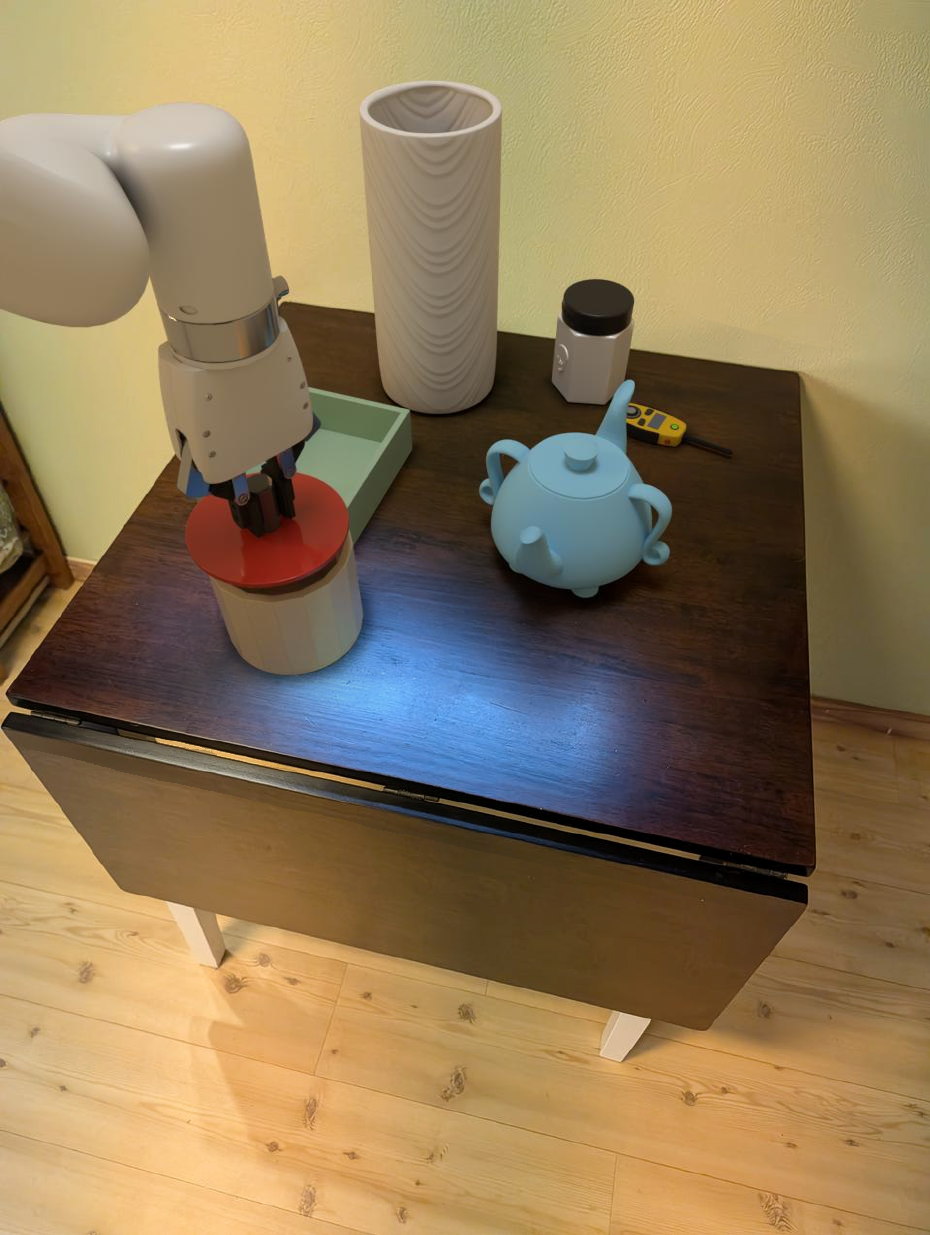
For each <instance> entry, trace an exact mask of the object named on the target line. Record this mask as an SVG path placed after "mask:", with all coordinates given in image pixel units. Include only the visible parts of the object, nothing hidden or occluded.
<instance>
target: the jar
mask: <svg viewBox="0 0 930 1235" xmlns="http://www.w3.org/2000/svg"><path fill="white" fill-rule="evenodd" d="M634 296H635V295H634V294H633V292H632V290H630V289H629V288H628V287H626V286H625V285H623V284H621V283H619V282H616V281H613V280H609V279H603V278H589V279H588V278H587V279H582V280H580V281H576V282H574V283H572V284H571V285H569V286H568V287H567V288H566V289H565V290H564V292H563V299H562V301H561V312H560V313H558V315H557V320H556V328H555V329H556V330H555V341H554V353H553V362H552V371H551V372H552V373H551V383H552V384H553V386H555V388H556V389H557V391H558V392H559V393H560V395H562V397H563V398H564V399H565V401H566V402H568V403H575V404H589V405H601V406H603V405H604V406H605V405H606V404H608V402H609V401H610V400H612V399H613V397H614V395H615V393H616V391H617V389H618V388H619V387H620V386H621V385H622V383H624V382H625V381H626V375H627V374H626V373H627V367H628V362H629V357H630V351H631V345H632V339H633V334H634V328H635V319H634V318H633V313H634V306H635V297H634Z"/></svg>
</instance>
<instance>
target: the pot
mask: <svg viewBox="0 0 930 1235" xmlns="http://www.w3.org/2000/svg"><path fill="white" fill-rule="evenodd" d="M357 568H358V567H357V563H356V555H355V549H354V546H353V542H352V538H351V534H350V530H349V531H348V536H347V538H346V541H345V543H344V545H343V547H342V548H341V550H340V551H339V553H338V554H337V555H336V556H335V557H334V558H333V559H332V560H331V561H330V562H329V563H328V564H327V565H326V566H324V567H323V568H321V569H320V570H319V571H317V572H315V573H313V574H312V575H310V576H308V577H305V578H303V579H301V580H298V581H295V582H292V583H289V584H284V585H280V586H273V587H262V588H252V587H242V586H236V585H232V584H228V583H225V582H222V581H220V580H217V579H215V578H213V577H212V576H210V575H208V574H207V576H208V579H209V582H210V584H211V587H212V589H213V593H214V595H215V598H216V601H217V605H218V607H219V610H220V612H221V615H222V619H223V621H224V624H225V627H226V630H227V634H228V635H229V638H230V641H231V643H232V644H233V646H234V648H235V650H236V651H237V653H238V654H239V655H240V657H241V658H242V659H243V660H244V661H246V662H247V663H248V664H249V665H251V666H253V667H254V668H256V669H258V670H260V671H263V672H266V673H270V674H275V675H281V676H298V675H304V674H305V675H306V674H310V673H313V672H316V671H319V670H322V669H324V668H326V667H329V666H330V665H332V664H334V663H335V662H337V661H338V660H340V659H341V658H342V657H344V655H346V654H347V653H348V651H350V650H351V649H352V647H353V646H354V645H355V643H356V642H357V639H358V638H359V636H360V633H361V630H362V626H363V619H364V610H363V604H362V603H363V602H362V596H361V590H360V584H359V576H358V569H357Z"/></svg>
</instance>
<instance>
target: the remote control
mask: <svg viewBox="0 0 930 1235" xmlns="http://www.w3.org/2000/svg"><path fill="white" fill-rule="evenodd" d="M626 436H628V437H630V438H632V439H634V440H635V439H636V440H637V441H641V442H644V443H647V444H651V445H655V446H656V445H662V446H667V447H677V446H678V445H679V444H681V443H682V442H685V441H687V442H691V443H695V444H697V445H699V446H703V447H705V448H707V449H708V448H709V449H711V450H714V451H717V452H719V453H723V454H725V455H733V454H734V451H733V450H732V449H731V448H728V447H727V448H726V447H724V446H721V445H718V444H715V443H712V442H710V441H706V440H703V439H700V438H698V437H695V436H692V435H689V434H688V432H687V424H686V423H685V422H684V421H682V420H680V419H679V418H677V417H674V416H673V414H671V413H669V412H668V411H664V410H662V409H660V408H658V407H654V406H651V405H647V404H643V403H632V402H630V403H629V406H628V410H627V417H626Z"/></svg>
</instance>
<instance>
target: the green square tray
mask: <svg viewBox="0 0 930 1235" xmlns="http://www.w3.org/2000/svg"><path fill="white" fill-rule="evenodd" d="M308 389H309V394H310V399H311V404H312V411H313V412H314V413H315V414H316V416H317V417H318V418H319V420H320V421H321V427H320V428H319V429H318V430H317V432H316V433H315V434H314V435H313V436H312V437H311V438H310V439H309V440H308V441H307V442H305V446H304V449H303V450H302V452H301V454H300V456H299V458H298V460H297V461H296V463H295V465H296V469H297V471H296V472H298V473H302V474H306V475H309V476H312V477H315V478H317V479H319V480H321V481H323V482H325V483H326V484H328V485H329V486H331V487H332V488H333V489H334V490H335V491H337V493H338V494H339V495H340V496H341V497H342V499H343V501H344V503H345V504H346V507H347V510H348V515H349V530H350V534H351V538H352V542H353V547H355V545H356V543H357V541H358V540H359V538H360V536H361V534H362V533H363V532H364V530H365V528H366V526H367V525H368V523H369V522H370V520H371V518H372V516H373V515H374V513H376V512H375V511H376V510H377V508H378V507H379V505H380V503H381V501H382V500H383V498H384V497H385V495H386V493H387V492H388V490H389V489H390V488H391V485H392V484H393V482H394V481H395V479H396V477H397V476H398V474H399V472H400V470H401V469H402V467H403V466H404V464H405V462H406V461H407V459H408V457H409V456H410V454H411V453H412V451H413V438H412V437H413V436H412V421H411V418H412V417H411V410H410V409H408V408H405V407H399V406H395V405H390V404H386V403H381V402H377V401H374V400H373V401H372V400H367V399H364V398H359V397H355V396H350V395H346V394H341V393H337V392H332V391H328V390H325V389H324V390H323V389H319V388H314V387H310V386H308ZM265 463H266V462H265V461H264V462H262V463H261V464H259V465H257V466H255V467H253V468H251V469H249V470H248V471H246V475H247V474H252V473H257V472H261V471H260V470H262V469H261V465H263V464H265ZM203 498H204V497H198V498H195V500H196V503H197V504H198V503H199V501H200V500H202V499H203ZM197 504H196V505H197Z"/></svg>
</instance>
